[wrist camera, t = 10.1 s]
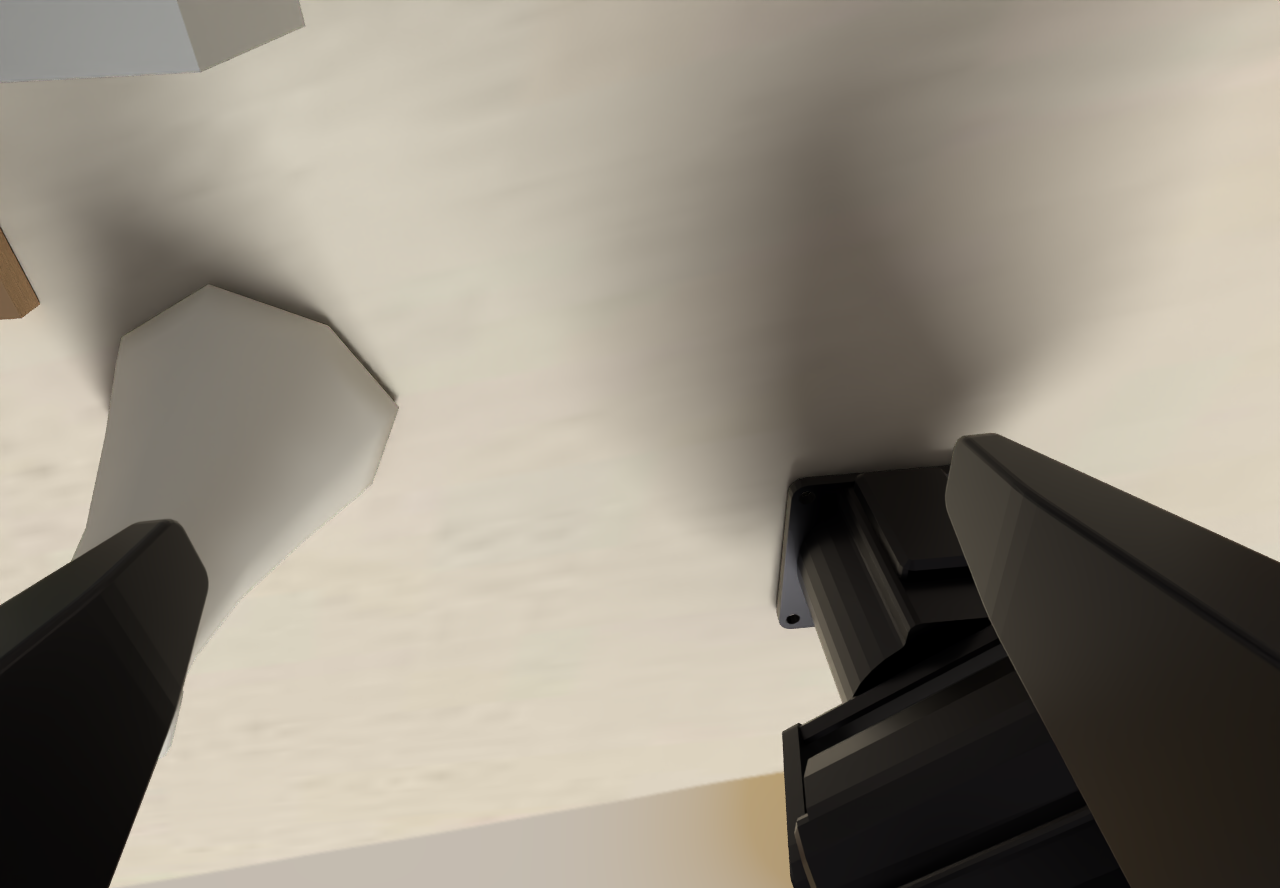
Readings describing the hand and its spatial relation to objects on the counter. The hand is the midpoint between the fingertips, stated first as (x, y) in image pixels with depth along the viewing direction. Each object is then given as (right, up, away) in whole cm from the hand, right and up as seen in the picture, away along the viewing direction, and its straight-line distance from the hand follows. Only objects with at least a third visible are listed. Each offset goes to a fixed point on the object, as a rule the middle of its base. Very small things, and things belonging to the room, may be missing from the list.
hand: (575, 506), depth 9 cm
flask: (-10, +2, +12) cm, 16 cm away
